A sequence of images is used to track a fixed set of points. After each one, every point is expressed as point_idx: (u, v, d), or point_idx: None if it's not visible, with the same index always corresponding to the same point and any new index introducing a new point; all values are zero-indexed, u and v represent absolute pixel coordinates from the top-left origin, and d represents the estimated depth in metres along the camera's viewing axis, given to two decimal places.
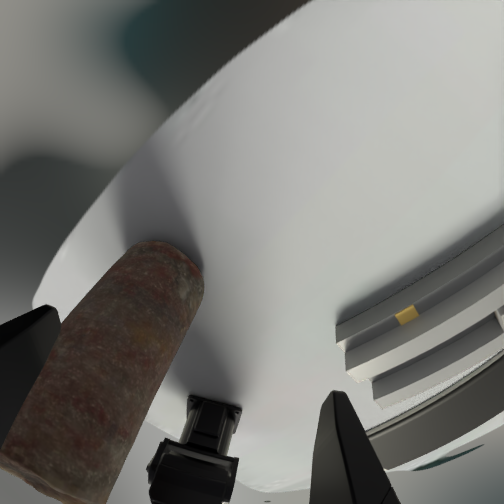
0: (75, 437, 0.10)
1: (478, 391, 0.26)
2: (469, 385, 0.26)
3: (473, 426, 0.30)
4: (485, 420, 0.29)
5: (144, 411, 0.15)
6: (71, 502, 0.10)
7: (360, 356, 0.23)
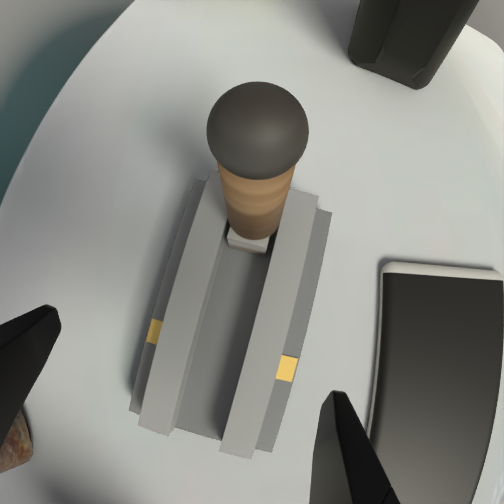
0: None
1: (416, 350, 0.21)
2: (388, 356, 0.21)
3: (490, 389, 0.19)
4: (496, 368, 0.20)
5: None
6: None
7: None
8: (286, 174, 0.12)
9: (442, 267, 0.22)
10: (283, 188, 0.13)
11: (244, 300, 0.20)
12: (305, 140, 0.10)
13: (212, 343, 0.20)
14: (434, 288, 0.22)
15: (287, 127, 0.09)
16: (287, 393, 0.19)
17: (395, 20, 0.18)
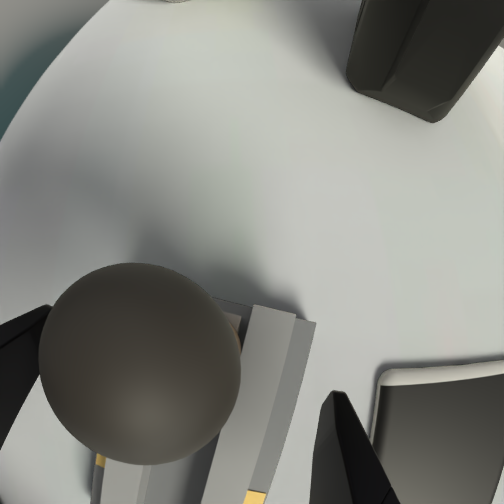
0: None
1: (410, 467, 0.15)
2: None
3: (489, 486, 0.14)
4: (498, 465, 0.14)
5: None
6: None
7: None
8: None
9: (454, 369, 0.17)
10: None
11: None
12: (227, 415, 0.04)
13: (167, 474, 0.14)
14: (442, 397, 0.16)
15: (169, 436, 0.04)
16: None
17: (414, 35, 0.13)
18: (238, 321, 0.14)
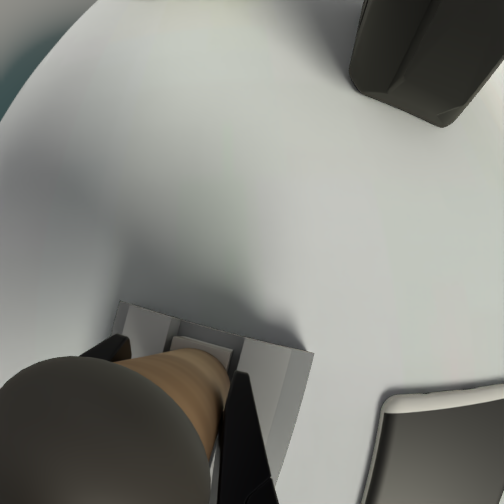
0: None
1: (410, 493, 0.13)
2: (376, 503, 0.13)
3: None
4: (499, 488, 0.13)
5: None
6: None
7: None
8: None
9: (461, 394, 0.15)
10: None
11: None
12: None
13: None
14: (447, 423, 0.14)
15: None
16: None
17: (426, 33, 0.11)
18: (227, 358, 0.12)
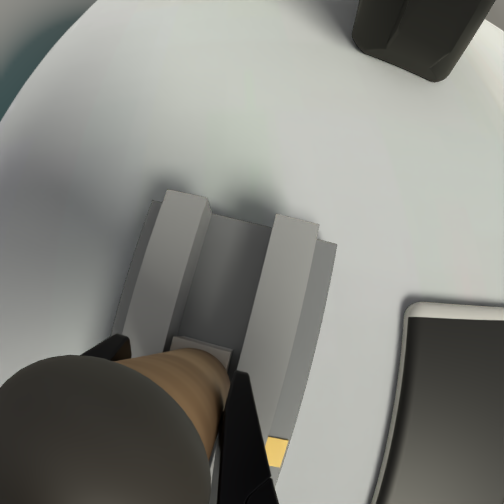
0: None
1: (440, 413, 0.15)
2: (407, 422, 0.15)
3: None
4: None
5: None
6: None
7: None
8: None
9: (478, 308, 0.16)
10: None
11: None
12: None
13: None
14: (468, 335, 0.16)
15: None
16: (274, 479, 0.13)
17: None
18: (227, 358, 0.12)
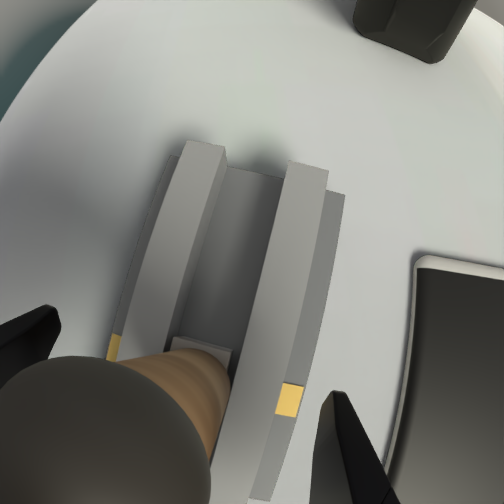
0: None
1: (451, 366, 0.15)
2: (420, 372, 0.15)
3: None
4: None
5: None
6: None
7: None
8: None
9: (483, 266, 0.17)
10: None
11: (231, 310, 0.15)
12: None
13: None
14: (475, 291, 0.17)
15: None
16: (289, 431, 0.14)
17: None
18: (227, 358, 0.12)
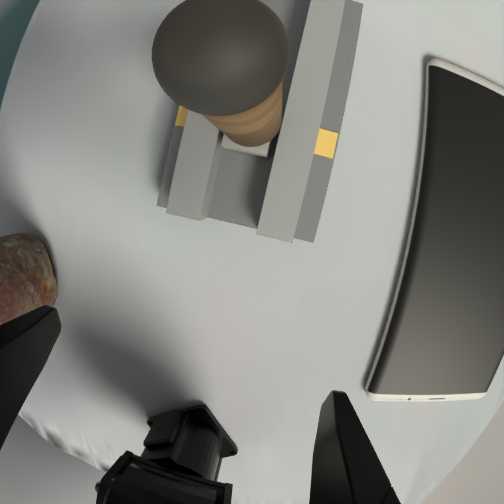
0: None
1: (461, 148, 0.18)
2: (435, 144, 0.18)
3: None
4: None
5: None
6: None
7: None
8: (266, 100, 0.08)
9: (487, 80, 0.16)
10: (268, 110, 0.10)
11: None
12: (283, 65, 0.07)
13: None
14: (480, 95, 0.17)
15: (250, 57, 0.06)
16: (328, 171, 0.18)
17: None
18: None
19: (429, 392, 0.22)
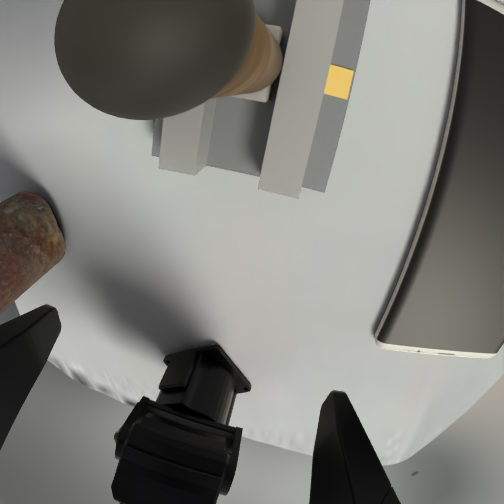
0: None
1: (499, 96, 0.13)
2: (468, 88, 0.13)
3: None
4: None
5: None
6: None
7: None
8: (232, 78, 0.06)
9: None
10: (244, 78, 0.07)
11: (279, 3, 0.12)
12: (238, 43, 0.04)
13: None
14: None
15: (172, 52, 0.03)
16: (342, 114, 0.15)
17: None
18: (277, 31, 0.11)
19: (439, 347, 0.22)
